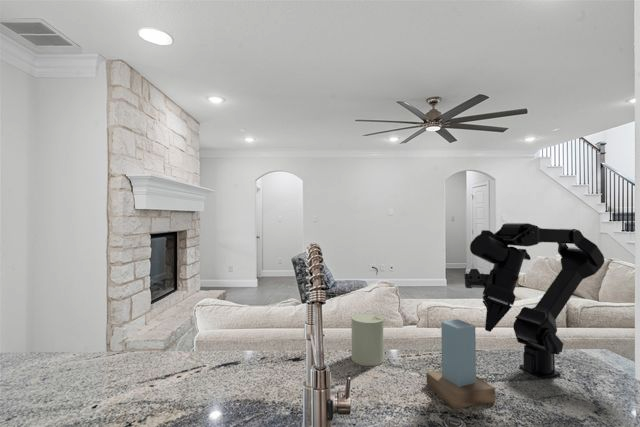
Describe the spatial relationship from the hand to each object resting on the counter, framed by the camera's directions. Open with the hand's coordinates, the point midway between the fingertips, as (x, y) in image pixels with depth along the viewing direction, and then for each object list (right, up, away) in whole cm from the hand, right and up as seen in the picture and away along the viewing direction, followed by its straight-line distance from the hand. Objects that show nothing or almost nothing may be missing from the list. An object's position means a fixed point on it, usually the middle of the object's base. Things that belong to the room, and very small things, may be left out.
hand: (487, 330), depth 77 cm
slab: (-9, -12, -6) cm, 16 cm away
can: (-27, -13, +13) cm, 33 cm away
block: (-9, -9, -5) cm, 14 cm away
